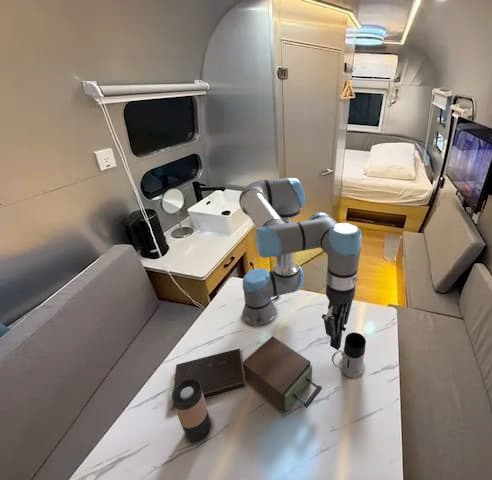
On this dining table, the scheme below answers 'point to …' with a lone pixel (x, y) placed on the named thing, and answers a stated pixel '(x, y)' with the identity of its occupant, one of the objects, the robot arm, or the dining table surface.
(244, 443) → the dining table surface
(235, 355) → the hardcover book
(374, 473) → the dining table surface
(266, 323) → the robot arm
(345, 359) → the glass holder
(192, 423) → the travel mug
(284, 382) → the cabinet
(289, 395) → the drawer
